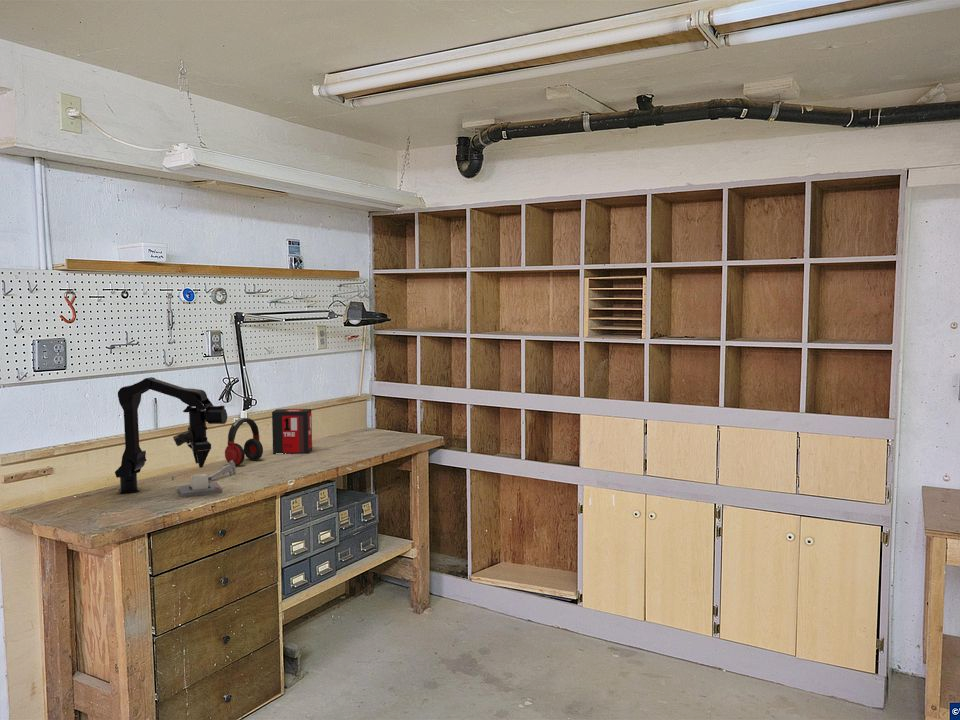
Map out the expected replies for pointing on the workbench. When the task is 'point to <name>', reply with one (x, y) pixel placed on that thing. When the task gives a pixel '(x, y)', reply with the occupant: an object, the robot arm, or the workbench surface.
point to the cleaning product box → (292, 431)
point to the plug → (199, 481)
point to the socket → (187, 492)
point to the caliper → (225, 470)
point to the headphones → (251, 446)
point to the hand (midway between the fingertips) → (199, 465)
